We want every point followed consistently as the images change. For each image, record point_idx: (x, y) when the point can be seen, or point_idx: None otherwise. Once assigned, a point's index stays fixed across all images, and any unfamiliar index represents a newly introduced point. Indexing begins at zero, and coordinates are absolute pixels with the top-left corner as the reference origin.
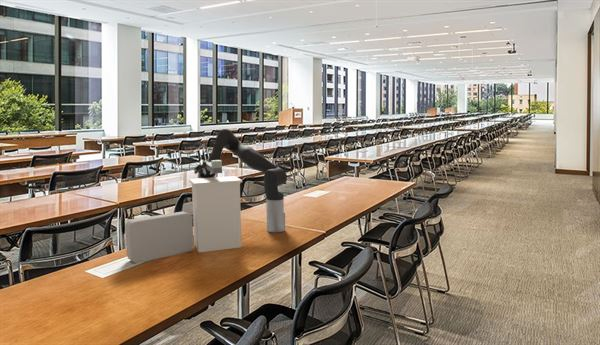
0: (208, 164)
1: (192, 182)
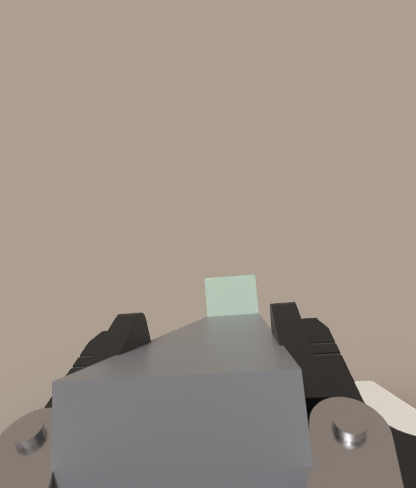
0: (257, 322)
1: (390, 394)
